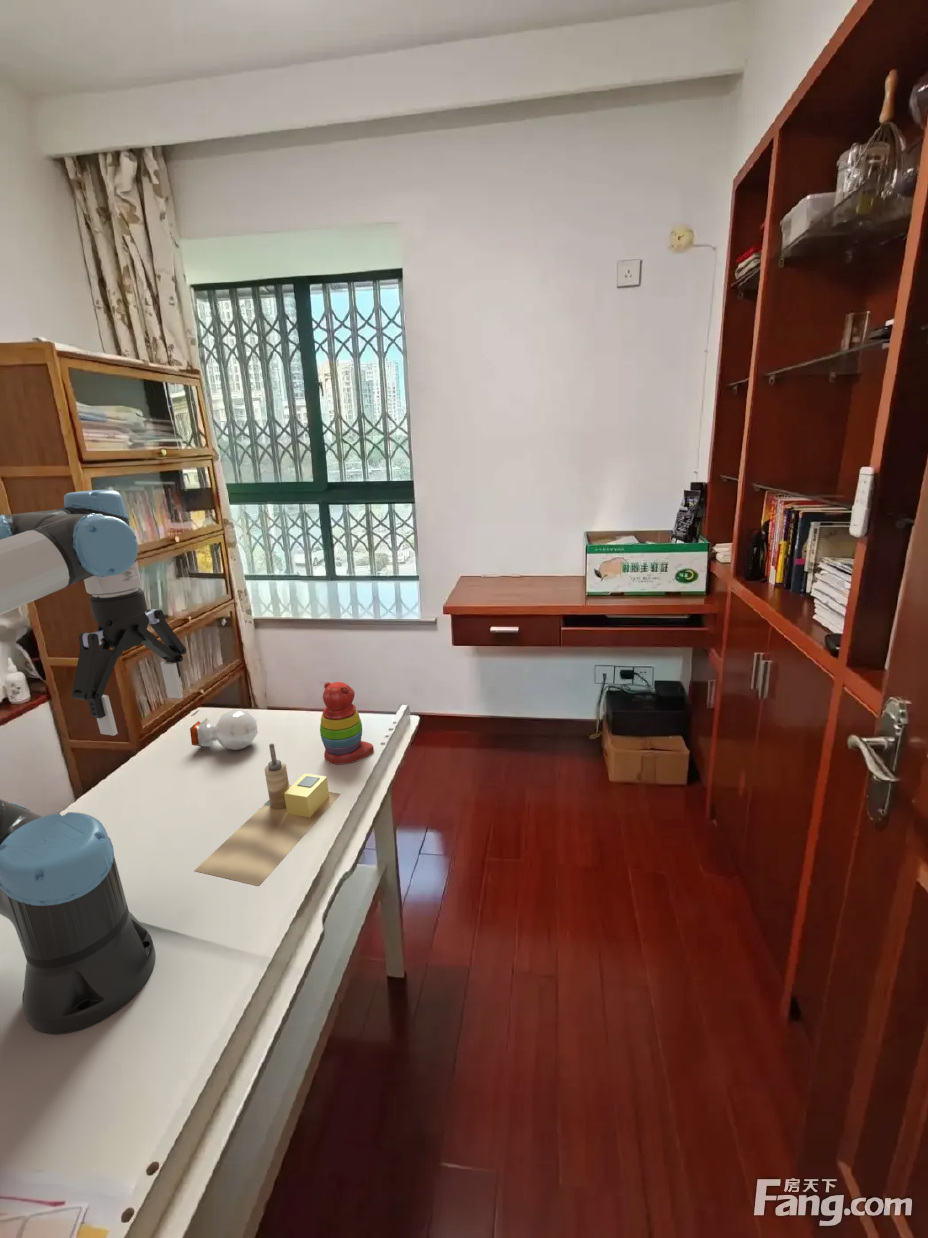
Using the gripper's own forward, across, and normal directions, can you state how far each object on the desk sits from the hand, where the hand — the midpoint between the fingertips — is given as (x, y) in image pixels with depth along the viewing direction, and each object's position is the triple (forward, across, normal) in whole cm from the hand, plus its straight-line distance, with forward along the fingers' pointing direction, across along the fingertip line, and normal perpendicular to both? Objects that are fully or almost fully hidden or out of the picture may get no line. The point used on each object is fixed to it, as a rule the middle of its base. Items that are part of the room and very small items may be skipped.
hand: (144, 714), depth 97 cm
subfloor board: (+27, +8, -16) cm, 32 cm away
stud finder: (+26, +16, -18) cm, 35 cm away
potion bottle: (+27, +33, +16) cm, 45 cm away
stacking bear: (+27, +37, -14) cm, 48 cm away
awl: (+26, +15, -12) cm, 32 cm away
